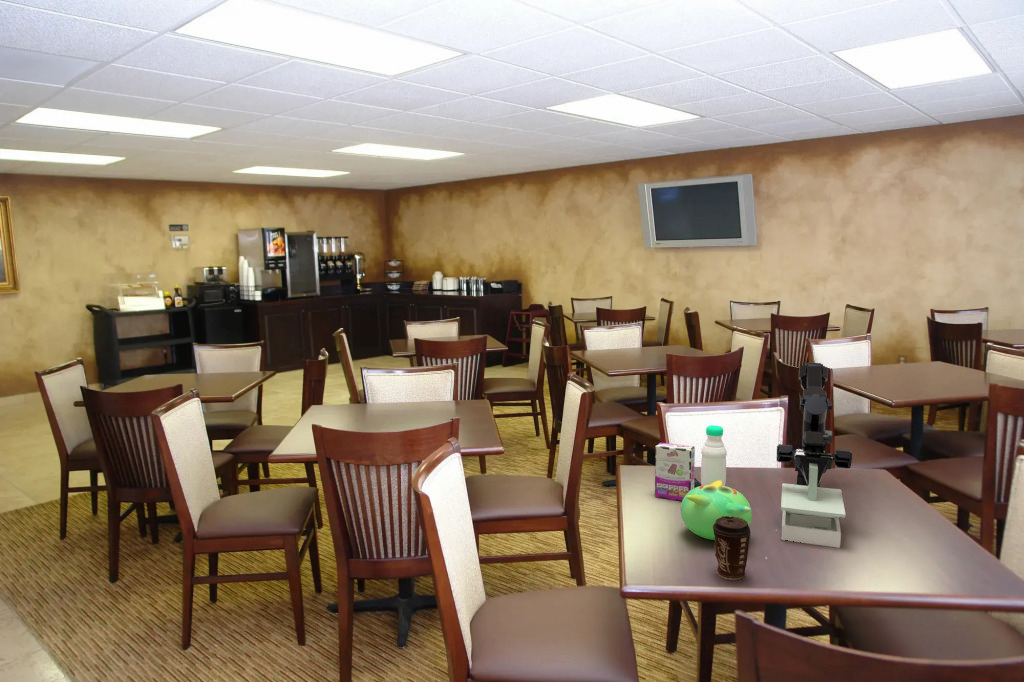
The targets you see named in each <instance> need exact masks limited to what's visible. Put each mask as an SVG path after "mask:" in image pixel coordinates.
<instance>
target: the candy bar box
mask: <svg viewBox="0 0 1024 682" xmlns="http://www.w3.org/2000/svg"><path fill="white" fill-rule="evenodd" d="M695 447H696V446H695V445H686V444H675V443H668V442H659V443H658V444H657V445H655V447H654V451H655V452H654V453H655V454H654V455H655V458H654V460H655V462H654V463H655V464H654V466H655V468H654V497H655V498H658V499H666V500H671V501H678V502H682V501H683V499H684V497H685V496H686V494H687V493H688V492H689V491H691V490H692V489H694V477H695V463H696V462H695V459H696V458H695V457H696V455H695V451H696V448H695Z"/></svg>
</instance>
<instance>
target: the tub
mask: <svg viewBox="0 0 1024 682" xmlns="http://www.w3.org/2000/svg"><path fill="white" fill-rule="evenodd" d="M781 518H782V519H781V538H780V539H781V541H785V540H788V541H787V542H793V541H794V542H793V543H800V542H801V543H802V544H808V545H815V546H823V547H832V548H837V549H840V548H841V542H842V540H841V538H842V531H841V525H840V524H841V523H840V517H837V518H832V517H824V516H815V515H807V514H799V513H790V512H788V511H785V510H782V517H781Z"/></svg>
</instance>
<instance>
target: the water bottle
mask: <svg viewBox="0 0 1024 682" xmlns="http://www.w3.org/2000/svg"><path fill="white" fill-rule="evenodd" d="M705 433H706V434H705V435H706V436H707V437H706V440H705V442H704V444H703V445H702V447H701V451H700V452H701V463H700V483H701V486H702V485H709V484H712V483H713V482H715V481H718V480H721V481H722V485H723V486H726V481H727V455H728V451H727V448H726V446H725V444H724V442H723V440H722V437H723V436H724V428H723V427H722V426H720V425H713V424H712V425H708V426H706V428H705Z"/></svg>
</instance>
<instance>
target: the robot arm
mask: <svg viewBox="0 0 1024 682" xmlns="http://www.w3.org/2000/svg"><path fill="white" fill-rule="evenodd" d="M798 368H799V369H798V380H800V387H801V389H802V390H803V391H802V396H800V397H799V410H801V411H802V414H803V418H802V441H801V443H800V444H799V445H798V449H795V450H794V449H793V445H792V444H782V443H780V444H778V445H777V446H776V462H778V463H784V464H785V463H786V464H789V463H790V462H792V459H793V458H794V472H797V475H796V485H803V486H808V485H809V463H814V464H817V465H818V476H817V487H821V480H822V479H823V476H824V475H825V473H827V470H831V469H832V467H833V462H834V466H835V467H836V468H838V469H846V470H847V469H851V468H852V462H853V452H852V451H851V450H849V449H841V448H840V449H839V448H836V449H835V452H834V453H829V452H826V450H827V449H826V448H827V447H826V446H827V444H832V443H833V430H826V420H827V413H829V412H830V411H832V409H833V404H832V402H831V401H830V398H828V397H827V390H826V391H825V390H824V388H825V385H826V382H828V378H829V376H828V375H829V368H828V366H825V365H824V364H823V363H821V362H805V364H802V365H799V367H798Z"/></svg>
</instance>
